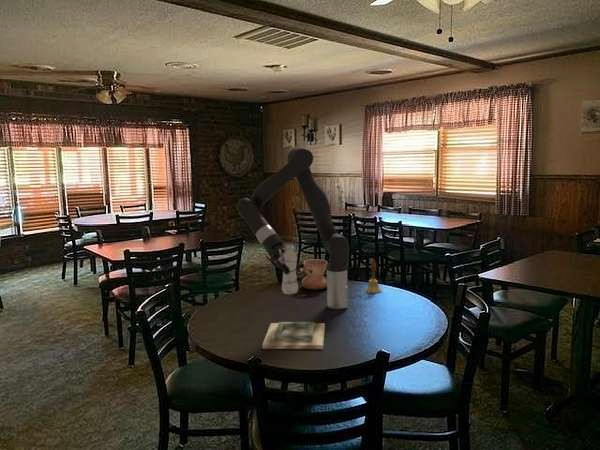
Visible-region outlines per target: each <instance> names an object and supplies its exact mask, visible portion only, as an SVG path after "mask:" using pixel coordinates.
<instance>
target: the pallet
mask: <svg viewBox="0 0 600 450" xmlns="http://www.w3.org/2000/svg"><path fill="white" fill-rule="evenodd" d="M325 325H326V323H325V322H323V323H322V322H321V323H320V322H317V323H316V322H315V321H279V322H271V323H270V324H269V326H268V329H267V333H265V338H264V339H263V343H262V345H261V347H262V348H261V349H269V350H270V349H272V350H276V349H277V350H279V349H281V350H282V349H283V350H287V349H288V350H290V349H291V350H294V349H295V350H323V349H324V339H325V328H326V326H325Z"/></svg>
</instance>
